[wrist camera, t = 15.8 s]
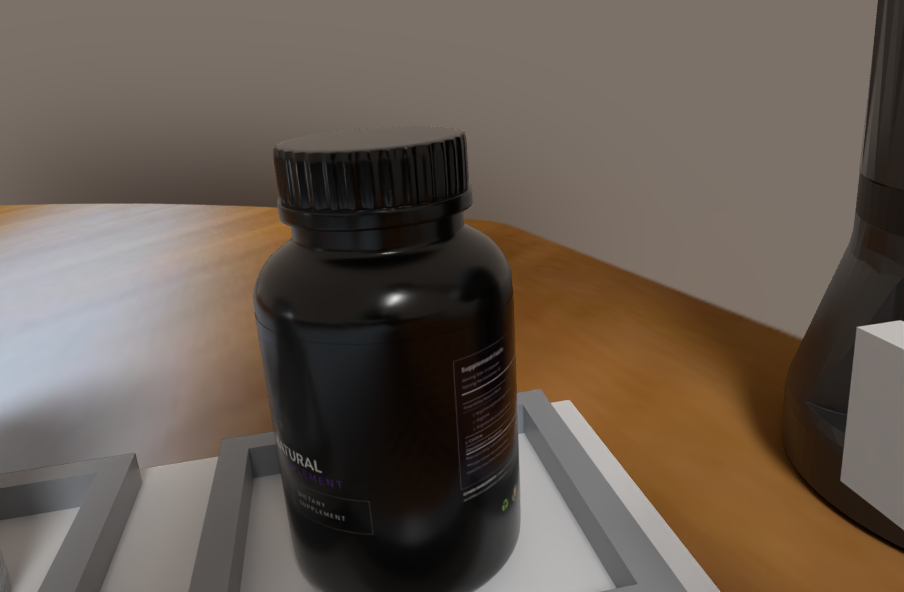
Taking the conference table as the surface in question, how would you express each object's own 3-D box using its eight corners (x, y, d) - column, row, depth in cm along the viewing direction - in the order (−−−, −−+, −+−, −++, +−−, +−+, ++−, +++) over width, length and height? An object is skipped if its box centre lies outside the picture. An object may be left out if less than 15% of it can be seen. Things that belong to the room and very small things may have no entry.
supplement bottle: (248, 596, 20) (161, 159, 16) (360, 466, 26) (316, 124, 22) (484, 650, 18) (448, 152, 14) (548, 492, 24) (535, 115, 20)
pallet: (569, 421, 30) (568, 373, 29) (774, 698, 17) (781, 622, 16) (-251, 557, 25) (-275, 503, 25) (-844, 1085, 12) (-932, 1001, 12)
